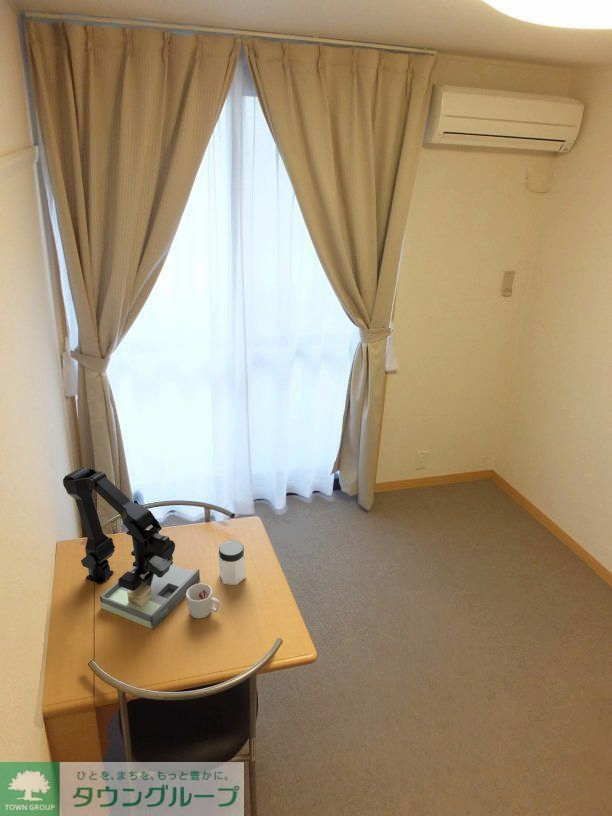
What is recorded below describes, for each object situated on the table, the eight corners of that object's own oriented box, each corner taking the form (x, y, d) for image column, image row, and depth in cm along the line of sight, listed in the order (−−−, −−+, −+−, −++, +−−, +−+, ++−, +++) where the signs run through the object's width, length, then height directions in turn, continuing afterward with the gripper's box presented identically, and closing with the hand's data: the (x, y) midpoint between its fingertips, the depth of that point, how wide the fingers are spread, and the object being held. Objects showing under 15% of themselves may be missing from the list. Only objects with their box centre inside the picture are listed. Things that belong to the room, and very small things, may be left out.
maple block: (128, 602, 168) (127, 592, 167) (139, 592, 172) (138, 582, 171) (141, 607, 166) (140, 597, 165) (152, 596, 171) (150, 586, 169)
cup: (226, 609, 170) (225, 589, 167) (214, 627, 163) (212, 606, 160) (195, 600, 173) (194, 580, 170) (182, 617, 166) (180, 597, 163)
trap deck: (101, 608, 169) (99, 596, 167) (151, 562, 189) (150, 552, 188) (153, 629, 162) (151, 617, 160) (199, 579, 182) (199, 569, 180)
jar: (217, 571, 186) (215, 542, 181) (240, 565, 189) (239, 537, 184) (224, 588, 179) (222, 558, 174) (247, 582, 181) (247, 552, 177)
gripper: (144, 574, 156) (149, 615, 162) (183, 537, 171) (186, 577, 178) (114, 563, 160) (120, 604, 166) (154, 528, 176) (159, 567, 182)
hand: (148, 587), depth 173 cm, fingers closed
